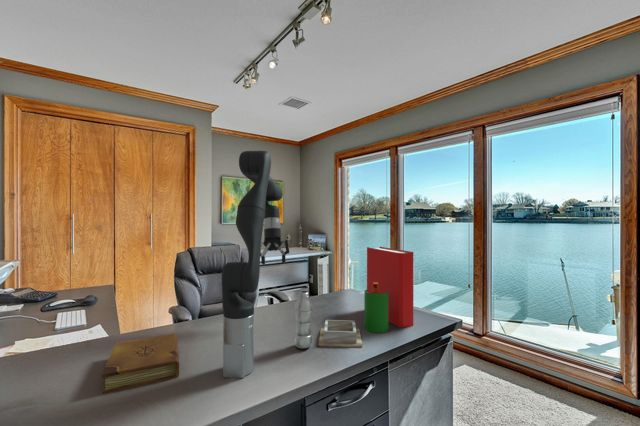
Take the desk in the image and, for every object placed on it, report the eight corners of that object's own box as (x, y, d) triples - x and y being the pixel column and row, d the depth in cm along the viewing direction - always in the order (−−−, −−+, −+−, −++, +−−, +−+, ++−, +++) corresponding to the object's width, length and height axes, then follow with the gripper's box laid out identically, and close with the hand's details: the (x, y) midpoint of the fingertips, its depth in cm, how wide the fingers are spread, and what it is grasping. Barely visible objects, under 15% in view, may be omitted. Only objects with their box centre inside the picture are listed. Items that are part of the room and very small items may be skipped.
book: (366, 309, 155) (366, 247, 156) (379, 307, 158) (380, 246, 159) (400, 327, 130) (400, 253, 130) (415, 325, 133) (415, 252, 134)
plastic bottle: (296, 352, 106) (296, 294, 107) (292, 344, 113) (293, 290, 113) (314, 349, 108) (314, 293, 108) (309, 342, 115) (309, 289, 115)
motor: (387, 325, 133) (387, 279, 133) (390, 333, 124) (390, 284, 124) (364, 324, 134) (364, 279, 134) (365, 332, 125) (365, 283, 125)
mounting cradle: (362, 347, 110) (362, 334, 110) (318, 346, 111) (318, 333, 111) (359, 330, 126) (359, 319, 126) (320, 329, 127) (321, 318, 127)
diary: (178, 379, 90) (179, 360, 90) (102, 396, 81) (102, 374, 81) (176, 348, 110) (177, 332, 110) (115, 359, 102) (115, 342, 102)
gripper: (255, 228, 135) (256, 265, 131) (287, 226, 135) (288, 263, 132) (258, 230, 142) (259, 265, 139) (288, 228, 142) (290, 263, 139)
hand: (273, 264), depth 135 cm, fingers open, 8 cm apart
